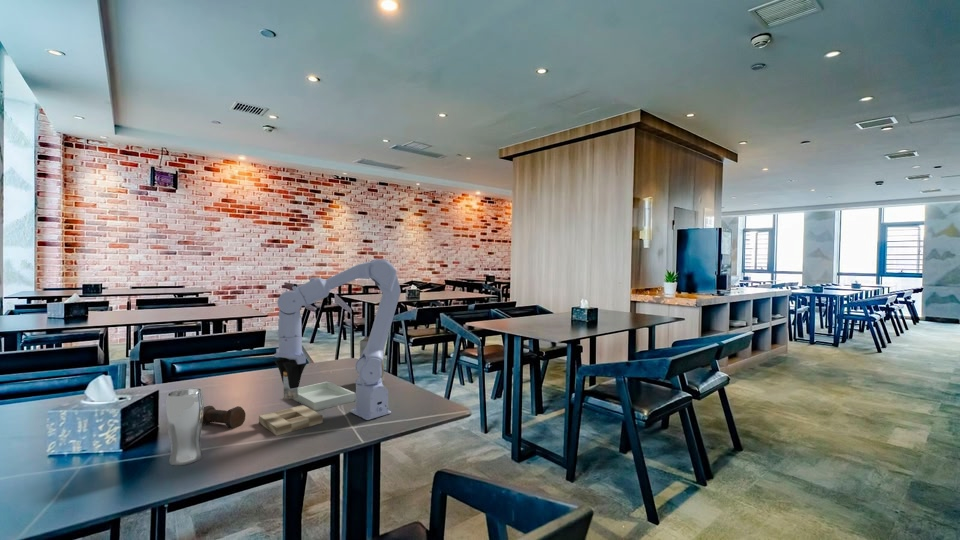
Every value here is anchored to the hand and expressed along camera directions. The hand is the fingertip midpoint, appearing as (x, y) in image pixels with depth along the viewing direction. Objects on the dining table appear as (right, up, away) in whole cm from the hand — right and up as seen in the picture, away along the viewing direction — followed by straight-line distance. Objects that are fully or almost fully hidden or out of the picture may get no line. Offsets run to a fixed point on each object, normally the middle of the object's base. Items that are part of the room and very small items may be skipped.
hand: (290, 386), depth 118 cm
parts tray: (+1, -9, +20) cm, 22 cm away
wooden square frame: (0, -10, 0) cm, 10 cm away
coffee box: (+13, -9, +36) cm, 40 cm away
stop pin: (0, -3, 0) cm, 3 cm away
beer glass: (-14, -11, -21) cm, 28 cm away
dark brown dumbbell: (-20, -10, 0) cm, 22 cm away
